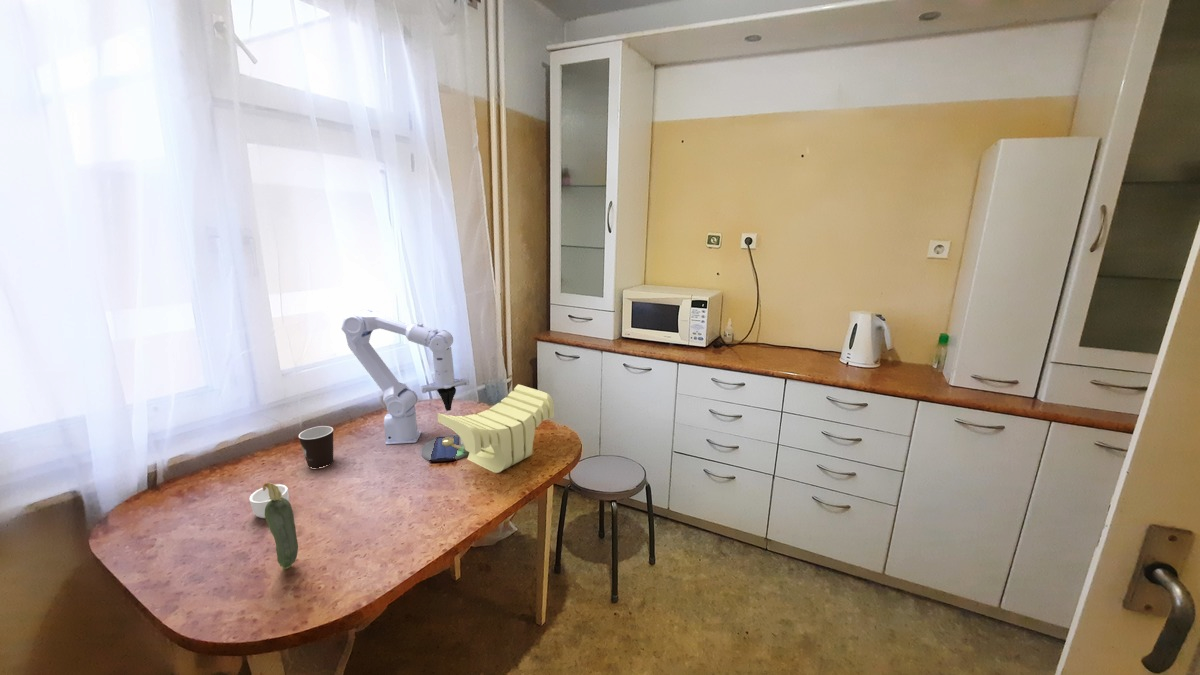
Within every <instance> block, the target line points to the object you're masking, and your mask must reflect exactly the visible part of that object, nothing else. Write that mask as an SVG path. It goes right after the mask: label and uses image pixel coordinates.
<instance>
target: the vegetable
mask: <svg viewBox="0 0 1200 675" xmlns="http://www.w3.org/2000/svg"><path fill="white" fill-rule="evenodd" d="M276 485H277V484H275V483H271V482H265V483H264V484H263V485H262V488H263V491H265V489H266V487H267V488H268V493H269V497H270V498H269V499H271V500H270V501H269V502H268V503H267V505H266V507H265V518H264V519H265V521H266V523H267V525H268V529H269V531H270V533H271V535H272V536H273V538H274V541H275V550H276V558H277V563H278V564H279V566H280V567H282V570H288V569H289V568H291V566H293V564H294V563H295V562H296V560H297V557H298V552H299V542H298V539H297V538H298V537H297V529H296V524H295V516H294V512H293V507H292V505H291V503H290V500H289V501H288V500H286V499H285V498H283V497H281V496H282V494H281V492H280V491H279V488H278V487H277V486H276Z"/></svg>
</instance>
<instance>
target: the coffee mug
mask: <svg viewBox="0 0 1200 675" xmlns="http://www.w3.org/2000/svg"><path fill="white" fill-rule="evenodd" d="M298 440H299V442H300V445H301V449H302V451H303V454H304V457H305V458H304V459H305V461H306V464H307V467H308V466H309V467H312V468H319V467H323V466H326V465H329V464H331V463H332V462H333V463H334V428H333V427H332V426H329V425H328V426H327V425H319V426H314V427H311V428H307V429H305V430H303V431H301V432H300V433H299V434H298ZM333 463H332V464H333ZM332 464H331V465H332ZM329 466H330V465H329ZM309 467H308V468H309Z"/></svg>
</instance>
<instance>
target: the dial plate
mask: <svg viewBox="0 0 1200 675" xmlns="http://www.w3.org/2000/svg"><path fill="white" fill-rule="evenodd" d="M454 436H455V437H459V446H461V442H460V436H459V435H458V434H452V435H445V436H442V437H454ZM437 438H438V437H436V438H434V439H431V440H430V441H428V442H426V443H425V444H424V445H423V446H422V448H421V450H420V453H421V457H422V458H423V459H424V460H426V461H428V460H429V459H431V454H432V451H433V448H434V443H435V441H436V439H437ZM468 456H469V452H461V450H457V454H456V456H455V459H459V460H462V459H464V458H466V457H468Z"/></svg>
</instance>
